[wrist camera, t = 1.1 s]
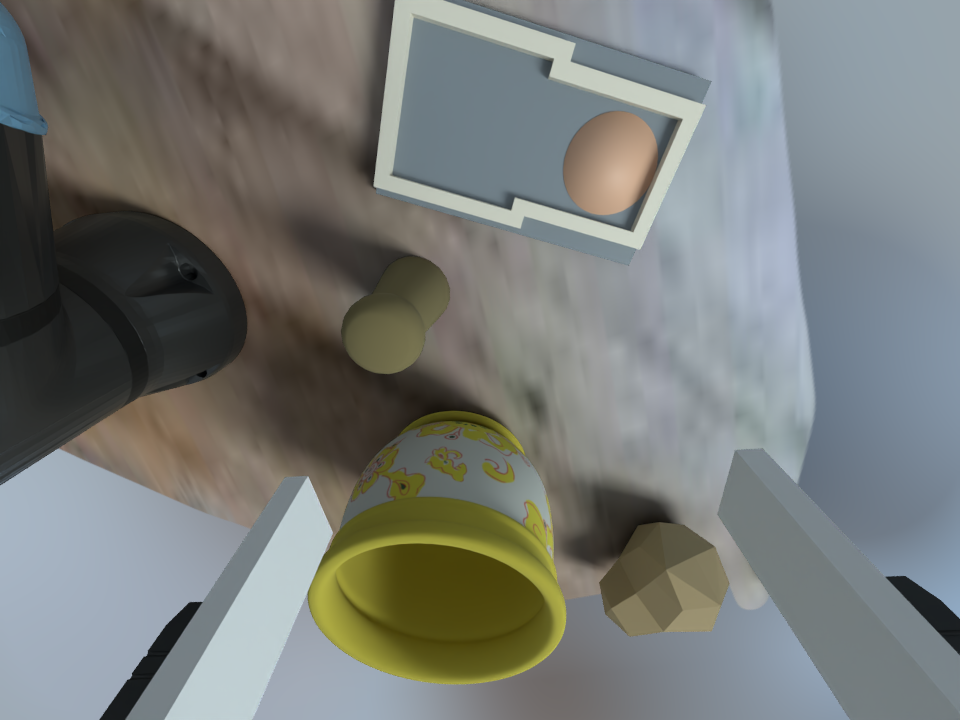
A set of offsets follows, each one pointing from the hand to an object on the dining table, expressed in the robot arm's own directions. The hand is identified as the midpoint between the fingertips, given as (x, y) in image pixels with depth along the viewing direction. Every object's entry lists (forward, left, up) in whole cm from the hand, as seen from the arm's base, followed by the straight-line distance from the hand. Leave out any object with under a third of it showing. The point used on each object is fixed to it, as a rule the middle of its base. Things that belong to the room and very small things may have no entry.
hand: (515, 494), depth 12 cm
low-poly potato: (+24, -25, -22) cm, 41 cm away
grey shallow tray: (-2, +11, -22) cm, 25 cm away
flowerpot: (0, -19, -22) cm, 29 cm away
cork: (-8, -2, -22) cm, 24 cm away
